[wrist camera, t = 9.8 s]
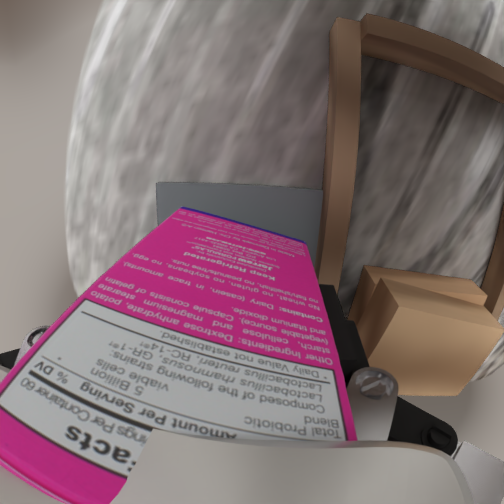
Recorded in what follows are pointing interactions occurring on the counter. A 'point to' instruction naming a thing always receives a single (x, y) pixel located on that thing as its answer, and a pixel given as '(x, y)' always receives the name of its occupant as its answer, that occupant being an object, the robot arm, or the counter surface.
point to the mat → (249, 206)
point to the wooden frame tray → (348, 118)
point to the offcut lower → (431, 282)
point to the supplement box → (176, 358)
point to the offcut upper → (426, 338)
